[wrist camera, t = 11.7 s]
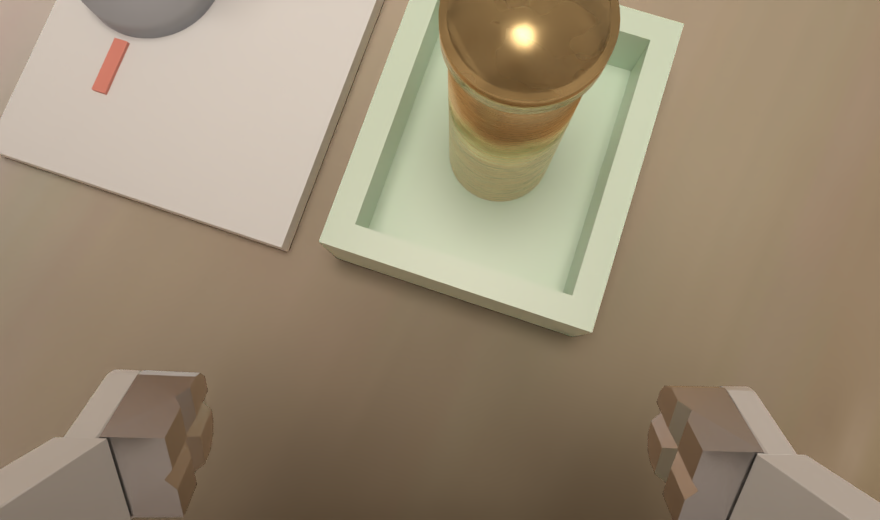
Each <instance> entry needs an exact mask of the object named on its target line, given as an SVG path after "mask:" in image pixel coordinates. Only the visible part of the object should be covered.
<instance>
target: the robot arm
mask: <svg viewBox="0 0 880 520" xmlns="http://www.w3.org/2000/svg"><path fill="white" fill-rule="evenodd" d="M207 392H208V388H207V383H206V379H205V376H204V375H203V374H201V373H192V372H172V371H152V370H144V371H140V370H121V369H115V370H113V371H111V372H109V373H108V374H107V375H106V376H105V378H104V379H103V380H102V382H101V383H100V385H99V386H98V388H97V389H96V391H95V392H94V394H93V395H92V396H91V398H90V399H89V401H88V402H87V404H86V405H85V407H84V408H83V409H82V411H81V412H80V414H79V415H78V417H77V418H76V420H75V421H74V423H73V424H72V425H71V427H70V428H69V430H68V431H67V433H66V434H65V436H64V437H54V438H52V439H50V440H49V441H47V442H45V443H44V444H42V445H40V446H38V447H37V448H35V449H33V450H32V451H30V452H28V453H27V454H25V455H23V456H22V457H20V458H18V459H16V460H15V461H13V462H11V463H10V464H8V465H6V466H5V467H3V468H1V469H0V520H131V518H155V517H184V515H185V513H186V510H187V508H188V505H189V503H190V500H191V498H192V496H193V493H194V491H195V488H196V486H197V482H196V477H195V471H196V470H197V469H199V468H200V467H201V466H203V465H204V464H205V463H206V460H207V458H208V455H209V452H210V450H211V444H212V439H213V415H212V410H211V409H210V408H209V407H208V406H207V405H206V404H205V403H204V402H203V401H204V399H205V396H206V394H207ZM657 404H658V407H659V409H660V411H661V413H660V414H659V415H658V416H656V417H655V418H654V419H653V420H651V423H650V427H649V431H648V454H649V459H650V463H651V466H652V468H653V471H654V473H655V474H656V475H657V476H658V477H659V478H661V479H662V480H663V481H664V482H665V483H666V485H665V488H664V491H663V497H664V499H665V502H666V504H667V507H668V509H669V512H670V514H671V516H672V519H673V520H880V503H879V502H878V501H876V500H875V499H873V498H872V497H870V496H869V495H867V494H866V493H864V492H862V491H861V490H859V489H858V488H856V487H855V486H853V485H852V484H850V483H849V482H847V481H845V480H844V479H842V478H841V477H839V476H838V475H836V474H835V473H833V472H832V471H830V470H828V469H827V468H825V467H824V466H822V465H821V464H819V463H818V462H816V461H815V460H813V459H811V458H810V457H808V456H807V455H797V453H796V452H795V451H794V449H793V448H792V446H791V445H790V443H789V442H788V440H787V439H786V437H785V436H784V434H783V433H782V431H781V430H780V428H779V427H778V425H777V424H776V422H775V421H774V419H773V418H772V416H771V415H770V413H769V412H768V410H767V409H766V407H765V406H764V404H763V403H762V401H761V400H760V399H759V397H758V396H757V394H756V393H755V391H754V390H753V389H751V388H749V387H748V386H720V387H709V386H664V387H663V388H662V389H661V391H660V393H659V396H658V399H657Z"/></svg>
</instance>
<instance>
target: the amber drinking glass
mask: <svg viewBox="0 0 880 520" xmlns="http://www.w3.org/2000/svg"><path fill="white" fill-rule="evenodd" d="M619 30H620V7H619V2H618V0H440V5H439V40H440V47H441V52H442V55H443V59H444V61H445V64H446V66H447V68H448V109H449V157H450V164H451V167H452V170H453V172H454V175H455V176H456V178H457V180H458V181H459V182H460V184H461V185H462V186H463V187H464V188H465V189H466V190H468V191H469V192H470V193H472V194H473V195H475V196H477V197H479V198H482V199H485V200H489V201H496V202H504V201H511V200H514V199H517V198H520V197H522V196H524V195H526V194H528V193H529V192H530V191H532V190H533V189H534V188H535V187H536V186H537V185H538V184H539V182H540V181H541V180H542V178H543V176H544V175H545V172H546V170H547V168H548V166H549V164H550V162H551V160H552V158H553V156H554V154H555V152H556V150H557V148H558V145H559V143H560V141H561V139H562V137H563V135H564V133H565V131H566V129H567V127H568V125H569V123H570V120H571V118H572V116H573V114H574V112H575V110H576V108H577V106H578V104H579V102H580V100H581V98H582V96H583V94H585V93H586V92H587V91H588V90H589V89H590V88H591V87H592V86H593V85H594V83H595V82H596V81H597V79H598V78H599V77H600V75H601V73H602V72H603V70H604V68H605V66H606V64H607V62H608V60H609V58H610V56H611V54H612V52H613V50H614V48H615V45H616V42H617V39H618V35H619Z"/></svg>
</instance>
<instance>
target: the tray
mask: <svg viewBox="0 0 880 520" xmlns="http://www.w3.org/2000/svg"><path fill="white" fill-rule="evenodd" d="M439 5H440V0H409V2H408V5H407V8H406V10H405V13H404V16H403V18H402V21H401V24H400V26H399V29H398V32H397V34H396V37H395V40H394V42H393V45H392V48H391V50H390V53H389V56H388V58H387V61H386V64H385V66H384V69H383V72H382V74H381V77H380V80H379V82H378V85H377V88H376V90H375V93H374V96H373V98H372V101H371V104H370V106H369V109H368V112H367V114H366V117H365V120H364V122H363V125H362V128H361V130H360V133H359V136H358V138H357V141H356V144H355V146H354V149H353V152H352V154H351V157H350V160H349V162H348V165H347V168H346V170H345V173H344V176H343V178H342V181H341V184H340V186H339V189H338V192H337V194H336V197H335V200H334V202H333V205H332V208H331V210H330V213H329V216H328V218H327V221H326V224H325V226H324V229H323V232H322V234H321V237H320V240H319V242H320V243H321V244H322V245H323V246H324V247H325V248H326V249H327V250H328V251H330V252H331V253H332V254H333V255H334V256H335V257H336V258H338V259H341V260H344V261H347V262H350V263H353V264H356V265H359V266H362V267H365V268H368V269H371V270H374V271H377V272H380V273H383V274H386V275H389V276H392V277H395V278H398V279H401V280H404V281H407V282H410V283H413V284H416V285H419V286H422V287H425V288H428V289H431V290H434V291H437V292H440V293H443V294H446V295H449V296H451V297H454V298H457V299H460V300H463V301H466V302H469V303H472V304H475V305H478V306H481V307H484V308H487V309H490V310H493V311H496V312H499V313H502V314H505V315H508V316H511V317H514V318H517V319H520V320H523V321H526V322H529V323H532V324H535V325H538V326H541V327H544V328H547V329H550V330H553V331H556V332H559V333H562V334H565V335H568V336H571V337H575V336H579V335H584V334H588V333H592V331H593V328H594V324H595V321H596V318H597V314H598V311H599V308H600V304H601V301H602V298H603V294H604V291H605V287H606V284H607V281H608V277H609V274H610V271H611V267H612V264H613V261H614V257H615V254H616V251H617V247H618V244H619V240H620V237H621V234H622V230H623V227H624V224H625V220H626V217H627V214H628V210H629V207H630V204H631V200H632V197H633V193H634V190H635V187H636V183H637V180H638V177H639V173H640V170H641V167H642V163H643V160H644V157H645V153H646V150H647V146H648V143H649V140H650V136H651V133H652V130H653V126H654V123H655V120H656V116H657V113H658V109H659V106H660V103H661V99H662V96H663V93H664V89H665V86H666V83H667V79H668V76H669V73H670V69H671V66H672V62H673V59H674V56H675V52H676V49H677V46H678V42H679V39H680V36H681V32H682V29H683V26H684V24H683V23H680V22H676V21H673V20H669V19H666V18H663V17H659V16H656V15H652V14H649V13H645V12H642V11H639V10H635V9H632V8H628V7H625V6H622V5H619V7H620V30H619V35H618V39H617V42H616V45H615V48H614V50H613V52H612V54H611V56H610V58H609V60H608V62H607V64H606V66H605V68H604V70H603V72H602V73H601V75H600V77H599V78H598V79H597V81H596V82H595V83H594V85H593V86H592V87H591V88H590V89H589V90H588V91H587V92H586V93H585V94H583V96H582V98H581V100H580V102H579V104H578V106H577V108H576V110H575V112H574V114H573V116H572V118H571V120H570V123H569V125H568V127H567V129H566V131H565V133H564V135H563V137H562V139H561V141H560V143H559V145H558V148H557V150H556V152H555V154H554V156H553V158H552V160H551V162H550V164H549V166H548V168H547V170H546V172H545V175H544V176H543V178H542V180H541V181H540V182H539V184H538V185H537V186H536V187H535V188H534V189H533V190H532V191H530V192H529V193H528V194H526V195H524V196H522V197H520V198H517V199H514V200H511V201H504V202H496V201H489V200H485V199H482V198H479V197H477V196H475V195H473V194H472V193H470V192H469V191H468V190H466V189H465V188H464V187H463V186H462V185H461V184H460V182H459V181H458V180H457V178H456V176H455V175H454V172H453V170H452V167H451V164H450V157H449V109H448V68H447V66H446V64H445V61H444V59H443V55H442V52H441V47H440V40H439Z"/></svg>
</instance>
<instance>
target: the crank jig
mask: <svg viewBox="0 0 880 520" xmlns="http://www.w3.org/2000/svg"><path fill="white" fill-rule="evenodd" d="M383 2H384V0H56V2H55V4H54V6H53V8H52V10H51V13H50V15H49V17H48V19H47V21H46V23H45V25H44V27H43V29H42V32H41V34H40V36H39V38H38V40H37V42H36V44H35V46H34V49H33V51H32V53H31V55H30V57H29V59H28V61H27V63H26V65H25V68H24V70H23V72H22V74H21V76H20V78H19V80H18V82H17V85H16V87H15V89H14V91H13V93H12V95H11V97H10V99H9V101H8V104H7V106H6V108H5V110H4V112H3V114H2V116H1V118H0V155H1V156H3V157H6V158H9V159H12V160H15V161H18V162H21V163H24V164H27V165H30V166H33V167H36V168H39V169H42V170H45V171H48V172H51V173H54V174H57V175H60V176H63V177H66V178H69V179H72V180H75V181H78V182H81V183H84V184H86V185H89V186H92V187H95V188H98V189H101V190H104V191H107V192H110V193H113V194H116V195H119V196H122V197H125V198H128V199H131V200H134V201H137V202H140V203H143V204H146V205H149V206H152V207H155V208H158V209H161V210H164V211H167V212H170V213H173V214H176V215H179V216H182V217H185V218H188V219H191V220H194V221H197V222H200V223H203V224H206V225H209V226H212V227H215V228H218V229H221V230H224V231H227V232H230V233H233V234H236V235H239V236H241V237H244V238H247V239H250V240H253V241H256V242H259V243H262V244H265V245H268V246H271V247H274V248H277V249H280V250H283V251H286V252H288V251H289V248H290V246H291V243H292V240H293V238H294V235H295V233H296V230H297V227H298V225H299V222H300V219H301V217H302V214H303V212H304V209H305V206H306V204H307V201H308V198H309V196H310V193H311V191H312V188H313V185H314V183H315V180H316V178H317V175H318V172H319V170H320V167H321V164H322V162H323V159H324V157H325V154H326V151H327V149H328V146H329V144H330V141H331V138H332V136H333V133H334V130H335V128H336V125H337V123H338V120H339V117H340V115H341V112H342V110H343V107H344V104H345V102H346V99H347V96H348V94H349V91H350V89H351V86H352V83H353V81H354V78H355V75H356V73H357V70H358V68H359V65H360V62H361V60H362V57H363V55H364V52H365V49H366V47H367V44H368V41H369V39H370V36H371V34H372V31H373V28H374V26H375V23H376V21H377V18H378V15H379V13H380V10H381V7H382V5H383Z"/></svg>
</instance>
